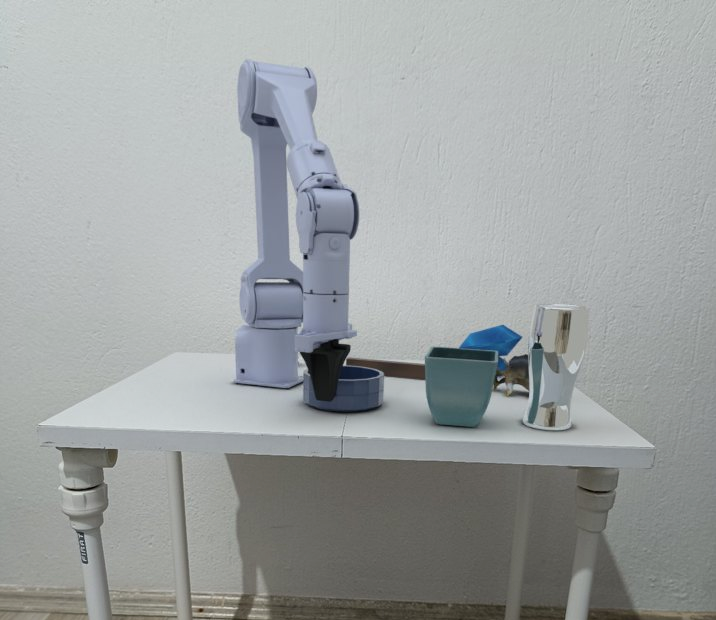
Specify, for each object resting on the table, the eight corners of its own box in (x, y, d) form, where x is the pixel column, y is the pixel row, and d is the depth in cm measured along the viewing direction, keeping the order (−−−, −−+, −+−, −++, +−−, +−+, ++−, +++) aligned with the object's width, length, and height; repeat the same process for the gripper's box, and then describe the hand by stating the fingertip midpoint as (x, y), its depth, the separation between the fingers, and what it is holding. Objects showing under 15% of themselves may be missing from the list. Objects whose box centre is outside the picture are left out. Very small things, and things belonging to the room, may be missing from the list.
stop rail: (345, 372, 117) (346, 358, 116) (348, 370, 118) (349, 357, 117) (434, 380, 112) (435, 366, 111) (436, 379, 113) (437, 365, 112)
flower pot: (491, 433, 81) (498, 360, 78) (419, 428, 83) (424, 356, 80) (491, 416, 89) (498, 350, 86) (426, 411, 91) (431, 346, 88)
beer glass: (512, 417, 89) (525, 303, 84) (562, 417, 90) (578, 304, 85) (529, 431, 83) (544, 308, 78) (582, 431, 84) (601, 309, 78)
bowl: (290, 408, 91) (290, 375, 89) (321, 392, 101) (321, 362, 99) (367, 417, 87) (369, 383, 86) (392, 399, 97) (393, 369, 96)
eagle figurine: (477, 387, 102) (533, 385, 96) (485, 345, 103) (541, 341, 98) (496, 407, 107) (550, 406, 102) (504, 367, 109) (557, 364, 104)
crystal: (452, 330, 121) (519, 318, 118) (459, 377, 124) (525, 366, 121) (450, 336, 114) (521, 323, 111) (458, 385, 117) (527, 373, 114)
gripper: (334, 298, 75) (332, 415, 79) (374, 291, 88) (370, 392, 92) (278, 295, 77) (279, 409, 82) (325, 288, 90) (324, 387, 94)
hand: (324, 400), depth 87 cm, fingers closed
